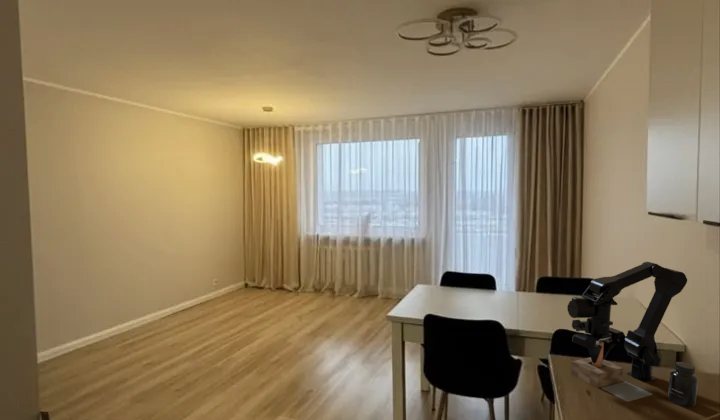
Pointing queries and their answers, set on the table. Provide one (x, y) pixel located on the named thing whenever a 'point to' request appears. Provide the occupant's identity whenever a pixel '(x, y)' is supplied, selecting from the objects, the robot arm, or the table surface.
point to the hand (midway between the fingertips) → (597, 361)
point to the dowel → (599, 357)
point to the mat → (626, 391)
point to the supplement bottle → (683, 385)
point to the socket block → (597, 372)
